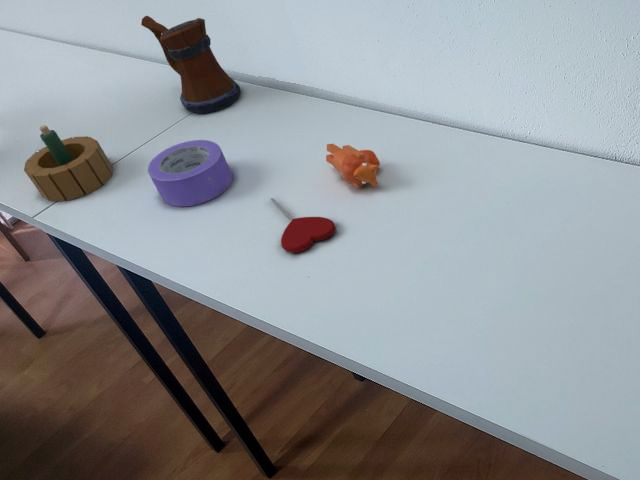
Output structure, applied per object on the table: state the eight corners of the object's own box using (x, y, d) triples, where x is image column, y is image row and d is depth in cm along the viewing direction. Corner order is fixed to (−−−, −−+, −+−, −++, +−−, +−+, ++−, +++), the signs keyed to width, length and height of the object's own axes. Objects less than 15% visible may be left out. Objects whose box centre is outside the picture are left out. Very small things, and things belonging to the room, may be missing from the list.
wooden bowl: (39, 209, 106) (20, 183, 103) (45, 174, 114) (28, 149, 111) (112, 187, 108) (96, 161, 104) (113, 154, 116) (98, 129, 112)
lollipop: (249, 213, 97) (291, 258, 89) (246, 208, 97) (289, 252, 88) (295, 190, 100) (341, 231, 91) (294, 185, 99) (339, 226, 91)
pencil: (71, 186, 110) (34, 132, 103) (72, 179, 112) (35, 125, 104) (85, 182, 111) (49, 127, 103) (86, 175, 112) (51, 121, 105)
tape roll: (246, 180, 104) (234, 153, 101) (183, 216, 99) (168, 188, 96) (210, 158, 111) (198, 132, 107) (150, 191, 106) (134, 164, 102)
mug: (154, 101, 129) (115, 24, 118) (199, 76, 135) (166, 1, 124) (207, 120, 121) (170, 39, 110) (253, 92, 126) (222, 13, 115)
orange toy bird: (314, 138, 99) (358, 164, 92) (354, 133, 103) (399, 157, 97) (314, 169, 102) (357, 197, 95) (354, 163, 106) (397, 188, 100)
